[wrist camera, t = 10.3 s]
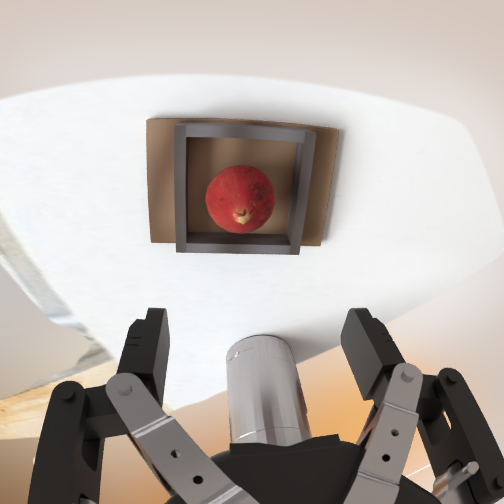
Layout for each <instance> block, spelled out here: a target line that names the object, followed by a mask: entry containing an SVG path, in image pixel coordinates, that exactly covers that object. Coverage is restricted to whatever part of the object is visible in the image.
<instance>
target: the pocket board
mask: <svg viewBox="0 0 504 504" xmlns="http://www.w3.org/2000/svg"><path fill="white" fill-rule="evenodd" d="M338 134H339V130H337V129H334V128H326V127H319V126H310V125H302V124H292V123H281V122H269V121H255V120H238V119H208V118H166V119H148V120H146V145H147V185H148V206H149V222H150V236H151V243H176V252H180V253H231V254H284V255H299V253H300V246H320V245H321V240H322V234H323V229H324V224H325V218H326V212H327V206H328V201H329V195H330V188H331V182H332V176H333V169H334V163H335V156H336V149H337V142H338ZM236 165H246V166H253V167H255V168H257V169H258V170H260V171H261V172H263V173H264V174H266V175H267V177H268V178H269V180H270V182H271V183H272V185H273V186H274V195H275V206H274V209H273V212H272V215H271V216H270V218H269V219H268V220H267V221H266V223H265V224H264V225H263V226H262V227H260V228H258V229H256V230H255V231H253V232H248V233H242V234H239V233H234V232H229V231H227V230H225V229H224V228H222V227H220V226H219V225H217V224H216V222H215V221H214V220H213V218H212V217H211V216H210V214H209V212H208V208H207V204H206V201H205V199H206V193H207V187H208V186H209V184H210V183H211V181H212V180H213V178H214V177H215V175H216V174H218V173H219V172H221V171H222V170H224V169H225V168H227V167H231V166H236Z"/></svg>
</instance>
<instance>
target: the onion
mask: <svg viewBox="0 0 504 504" xmlns="http://www.w3.org/2000/svg"><path fill="white" fill-rule="evenodd" d="M205 201H206V204H207V208H208V212H209V214H210V216H211V217H212V218H213V220H214V221H215V222H216V224H217V225H219V226H220V227H222V228H224V229H225V230H227V231H229V232H234V233H239V234H242V233H248V232H253V231H255V230H256V229H258V228H260V227H262V226H263V225H264V224H265V223H266V221H267V220H268V219H269V218H270V216H271V215H272V212H273V209H274V206H275V195H274V186H273V185H272V183H271V182H270V180H269V178H268V177H267V175H266V174H264V173H263V172H261V171H260V170H258V169H257V168H255V167H253V166H246V165H236V166H231V167H227V168H225V169H224V170H222V171H221V172H219V173H218V174H216V175H215V177H214V178H213V180H212V181H211V183H210V184H209V186H208V187H207V193H206V199H205Z"/></svg>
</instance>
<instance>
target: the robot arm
mask: <svg viewBox="0 0 504 504" xmlns="http://www.w3.org/2000/svg"><path fill="white" fill-rule="evenodd" d="M341 345H342V348H343V350H344V353H345V355H346V358H347V360H348V363H349V365H350V367H351V370H352V372H353V375H354V377H355V380H356V382H357V385H358V387H359V390H360V392H361V395H362V397H363V400H364V401H365V400H371V399H373V401H374V405H373V406H372V409H371V411H370V414H369V416H368V418H367V421H366V423H365V426H364V428H363V430H362V432H361V435H360V437H359V439H358V441H357V442H356V444H353V443H350V442H345V441H340V439H339V436H338V434H334V435H327V436H320V437H313V438H312V436H311V432H310V427H309V423H308V419H307V415H306V414H307V408H306V404H305V400H304V396H303V392H302V388H301V384H300V380H299V376H298V372H297V368H296V364H295V361H294V360H293V357H292V353H291V350H290V347H289V346H288V345H287V343H285V342H284V341H283V340H281V339H279V338H276V337H272V336H264V335H263V336H253V337H249V338H246V339H243V340H241V341H239V342H238V343H236V344H235V345H234V346H232V347H231V349H230V350H229V351H228V354H227V358H226V365H227V388H228V406H229V422H230V437H231V443H230V449H229V450H228V451H224V452H221V453H218V454H216V455H214V456H212V457H210V458H209V457H208V456H207V455H206V454H205V453H204V452H203V451H202V449H200V447H199V446H198V445H197V444H196V443H195V442H194V441H193V440H192V438H191V437H190V436H189V435H188V434H187V433H186V431H185V430H184V429H183V428H182V427H181V425H180V424H179V423H178V422H177V421H176V420H175V419H174V418H173V417H172V416H168V415H167V414H166V413H165V412H164V411H163V410H162V404H163V395H164V386H165V378H166V370H167V363H168V355H169V348H170V335H169V327H168V318H167V310H166V308H148V311H147V315H146V319H145V320H143V319H136V320H135V322H134V323H133V324H132V325H131V326H130V327H129V331H128V334H127V338H126V341H125V346H124V348H123V351H122V355H121V359H120V362H119V366H118V370H117V373H116V375H114V376H113V377H111V378H110V379H109V380H108V382H107V384H105V385H102V386H99V387H92V388H86V389H84V388H83V387H82V385H81V384H79V383H78V382H75V381H65V382H62V383H60V384H58V385H57V386H56V387H55V388H54V390H53V392H52V394H51V398H50V401H49V405H48V408H47V412H46V416H45V419H44V423H43V427H42V431H41V435H40V439H39V444H38V448H37V453H36V457H35V462H34V467H33V472H32V478H31V484H30V490H29V496H28V504H99V495H100V481H101V470H102V459H103V450H104V442H105V438H106V437H112V436H118V435H124V434H126V435H127V436H128V438H129V439H130V441H131V442H132V443H133V445H134V447H135V448H136V449H137V451H138V452H139V454H140V455H141V456H142V458H143V459H144V461H145V462H146V463H147V465H148V466H149V468H150V469H151V471H152V472H153V474H154V475H155V477H156V478H157V479H158V481H159V482H160V483H161V485H162V486H163V487H164V488H165V490H166V491H167V492H168V493H169V495H170V496H171V498H169V500H168V501H167V502H166V503H165V504H494V503H495V502H497V501H499V500H500V499H502V498H503V497H504V458H503V456H502V453H501V451H500V449H499V447H498V445H497V442H496V440H495V438H494V436H493V434H492V432H491V430H490V428H489V426H488V424H487V421H486V419H485V418H484V415H483V414H482V412H481V410H480V408H479V406H478V404H477V402H476V400H475V398H474V396H473V395H472V393H471V391H470V389H469V387H468V385H467V383H466V382H465V380H464V378H463V377H462V375H461V374H460V373H459V372H458V371H457V370H455V369H452V368H444V369H442V370H441V371H440V372H439V374H438V375H437V376H434V375H425V374H422V373H421V371H420V370H419V369H418V368H417V367H416V366H414V365H412V364H409V363H406V362H405V360H404V359H403V357H402V355H401V353H400V351H399V350H398V348H397V346H396V344H395V342H394V341H393V339H392V337H391V336H390V335H389V332H388V330H387V329H386V327H385V325H384V324H383V323H382V322H380V321H379V320H378V319H377V318H373V317H372V316H371V314H370V312H369V310H368V309H367V308H351V309H350V310H349V311H348V314H347V317H346V321H345V324H344V327H343V330H342V333H341ZM444 411H445V412H446V414H447V416H448V418H449V421H450V423H451V429H450V427H449V425H448V423H447V421H446V418H445V416H444V414H443V412H444ZM416 426H417V428H418V431H419V433H420V436H421V439H422V441H423V444H424V447H425V450H426V452H427V455H428V458H429V460H430V464H431V466H432V469H433V472H434V475H435V478H436V480H435V481H434V484H433V491H432V493H430V492H428V491H427V490H425V489H423V488H421V487H420V486H419V485H417V484H416V483H414V482H413V481H411V480H409V479H408V478H406V477H405V476H403V475H402V472H403V469H404V466H405V463H406V460H407V457H408V453H409V451H410V447H411V444H412V440H413V437H414V433H415V430H416Z"/></svg>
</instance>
